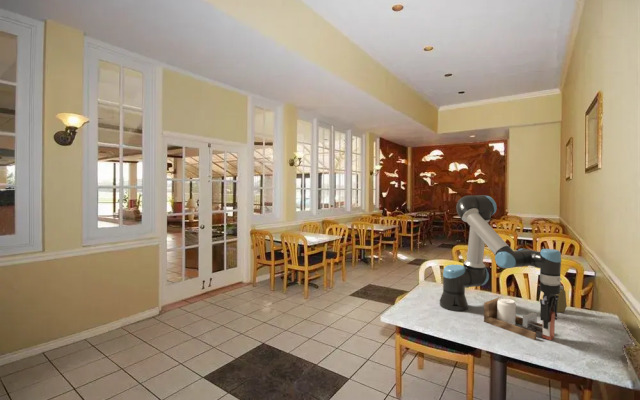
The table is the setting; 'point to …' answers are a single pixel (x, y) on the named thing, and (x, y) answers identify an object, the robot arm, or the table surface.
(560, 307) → the squeeze bottle
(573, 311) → the table surface
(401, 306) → the table surface
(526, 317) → the plunger
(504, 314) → the beverage can
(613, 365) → the table surface
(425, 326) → the table surface
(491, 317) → the cradle frame
